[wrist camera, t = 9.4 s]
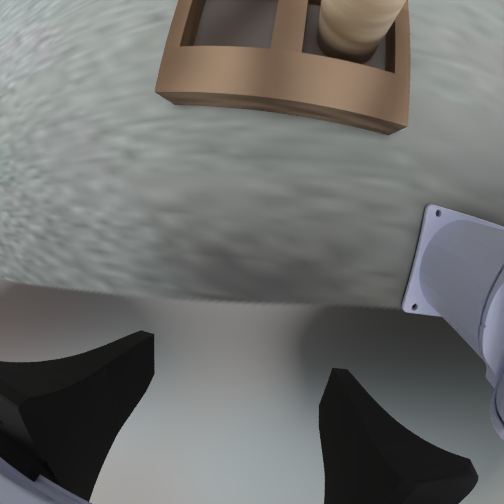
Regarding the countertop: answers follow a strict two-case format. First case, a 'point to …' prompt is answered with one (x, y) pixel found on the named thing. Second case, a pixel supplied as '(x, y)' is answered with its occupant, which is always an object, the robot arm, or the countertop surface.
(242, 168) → the countertop surface
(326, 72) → the block
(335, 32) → the beech pin
